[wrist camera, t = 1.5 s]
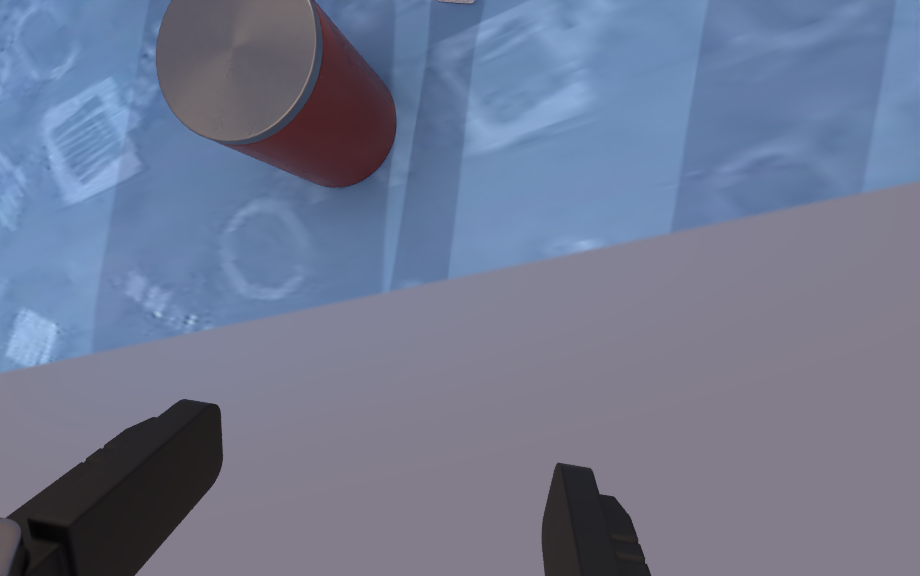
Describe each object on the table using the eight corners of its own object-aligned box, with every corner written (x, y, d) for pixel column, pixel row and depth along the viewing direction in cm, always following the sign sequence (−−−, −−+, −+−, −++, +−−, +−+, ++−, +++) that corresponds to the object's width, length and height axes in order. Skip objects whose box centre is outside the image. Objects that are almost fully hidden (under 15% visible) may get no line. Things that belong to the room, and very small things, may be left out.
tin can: (273, 82, 30) (142, -12, 21) (384, 47, 29) (298, -74, 19) (293, 199, 30) (170, 160, 21) (406, 171, 29) (331, 114, 19)
